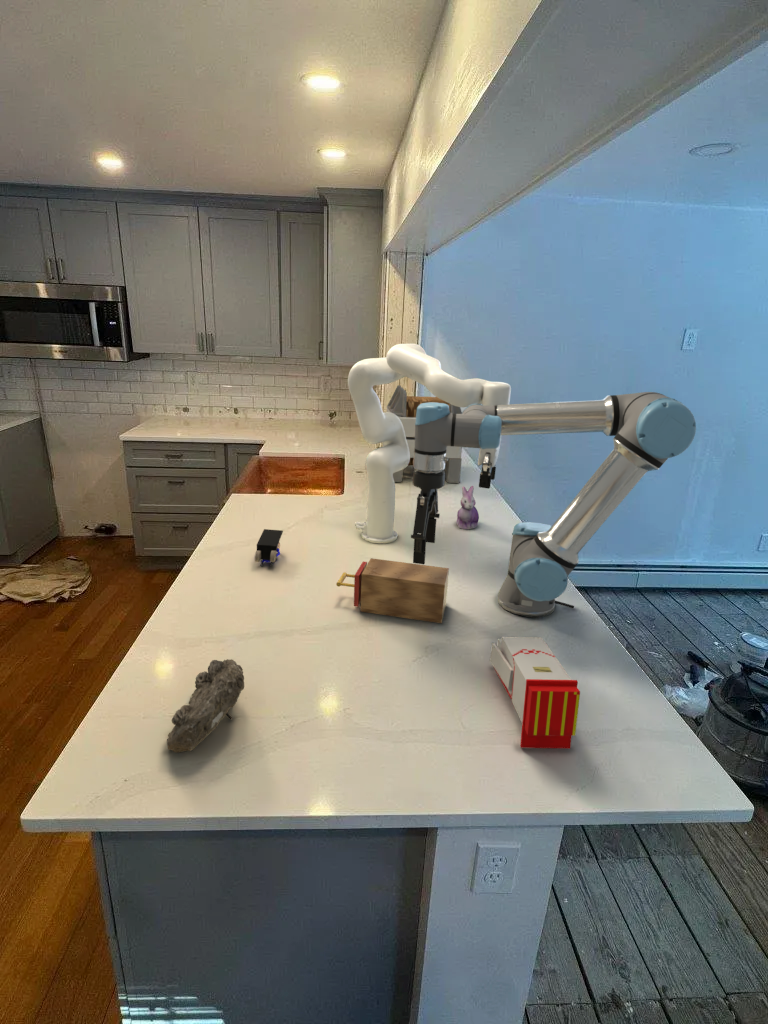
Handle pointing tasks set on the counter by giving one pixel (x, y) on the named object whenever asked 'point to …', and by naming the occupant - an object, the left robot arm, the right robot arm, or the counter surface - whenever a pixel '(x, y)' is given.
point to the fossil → (206, 705)
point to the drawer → (356, 583)
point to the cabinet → (404, 590)
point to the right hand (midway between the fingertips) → (424, 552)
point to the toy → (537, 691)
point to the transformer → (407, 414)
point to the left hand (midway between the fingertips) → (486, 483)
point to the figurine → (467, 510)
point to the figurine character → (268, 546)
